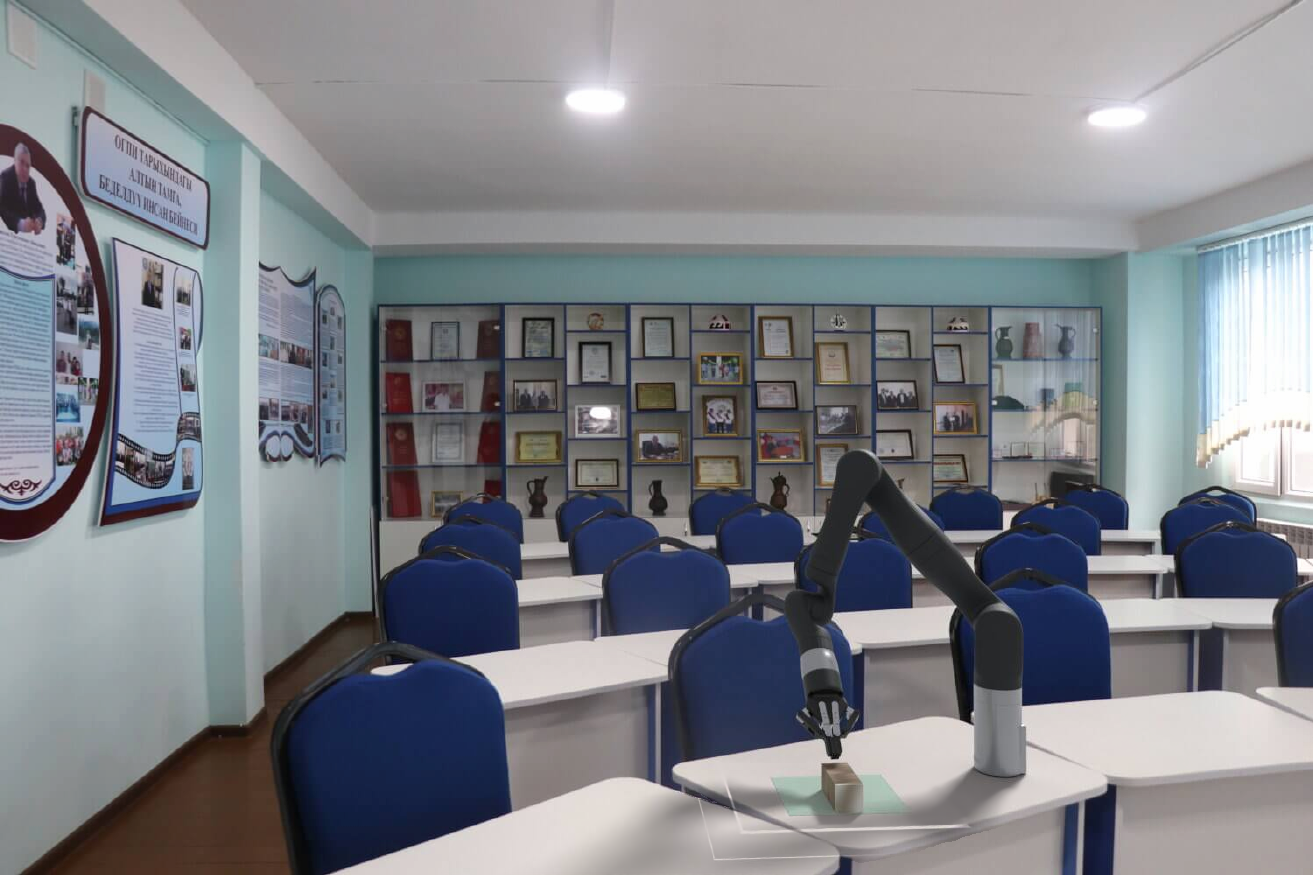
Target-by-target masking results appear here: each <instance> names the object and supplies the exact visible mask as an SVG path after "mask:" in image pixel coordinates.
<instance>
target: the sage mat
mask: <svg viewBox="0 0 1313 875" xmlns="http://www.w3.org/2000/svg"><path fill="white" fill-rule="evenodd" d="M856 775H857V776H858V778H859V779H860V781H861V782H862V783H863V812H856V813H835V811H834V809H833V808H832V806H831V804H830V803H829V801H828V799H827V798H826V796H825V794H824V793H823V791H822V789H821V775H812V776H811V775H810V776H809V775H805V776H803V775H802V776H771V777H770V779H771V781H772V783H773V785H774V787H775V790H776V791H777V794H778V795H779V797H780V799H781V801H782V804H783V805H784V807H785V810H786V812H787V814H788V816H789V817H793V816H795V817H797V816H799V817H800V816H831V815H870V814H874V815H875V814H903V813H904V814H905V813H906V814H907V813H909V814H910V813H912V811H911V810H910V809H909V808H908V806H907V805H906V804H905V803H904V801H903V800H902V799H901V798H900V796H899V795H898V794H897V793H896V792H895V790H894V789H893V788H892V786H891V785H890V784H889V782H887V780H886V779H885V778H884V776H882V774H878V773H877V774H856Z"/></svg>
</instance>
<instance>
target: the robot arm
mask: <svg viewBox="0 0 1313 875" xmlns="http://www.w3.org/2000/svg"><path fill="white" fill-rule="evenodd" d="M834 475H835V477H834V481H833V482H834V483H833V486H832V487H833V488H832V493H831V496H830V500H829V505H828V508H827V511H826V513H825V516H824V519H823V521H822V524H821V527H820V528H819V532H818V534H817V535H816V539H815V542H814V544H813V546H812V550H811V552H810V555H809V558H808V561H807V563H806V566H805V568H804V576H805V578H806V579H807V580H809V581H810V582H811V583H814V584H816V585H817V592H812V591H807V590H805V589H799V588H798V589H792V590H791V591H789V592H788V593H787V594H786V596H785V598H784V602H783V613H784V616H785V619H786V622H787V625H788V626H789V629H790V631H791V633H792V635H793V637H794V639H795V640H796V643H797V647H798V652H799V659H800V672H801V674H800V676H801V679H802V684H803V686H802V687H803V690H804V696H805V703H804V704H805V705H804V707H803V709H799V710H797V712H796V717H795V720H796V722H798V723H799V725H801V727H803V728H804V729H805V731H807V732H808V734H810V735H811V736H812V737H813V738H814V739H815V740H822V741H823V742H824V747H825V753H826V755H827V757H830V760H831V761H832V760H833V761H834V760H839V759H840V757H841V756H842V753H843V746H842V741H841V740H842V739H844V740H845V739H847V737H848V735H849V734H850V732H851V731H852V729H853V728H854V726H855V724H856V723H857V721H858V720H859V717H860V714H861V710H860V709H858V708H855V709H853V708H852V707H850V706H849V702H848V701H847V700H846V698H845V697H844V689H843V685H842V680H841V676H840V675H841V674H840V670H839V665H838V661H837V658H836V656H835V652H834V645H833V641H832V637H831V634H830V633H829V631H828V630H827V629H825V628H824V627H827V625H828V624H830V622H831V621H832V619H833V617H834V615H835V614H834V613H835V602H836V591H837V590H836V589H837V582H838V578H839V575H840V573H841V570H842V567H843V564H844V561H845V558H846V555H847V553H848V550H849V546H850V543H851V538H852V535H853V531H854V527H855V524H856V522H857V518H858V516H859V515H860V514H859V513H860V511H861V509H862V507H863V505H864V503H866V505H867V506H868V507H869V508H870V509H871V510H872V511H873V512H874V513H875V514H876V516H877V517H878V518H879V520H880V521H881V523H882V525H883V526H884V528H885V530H886V531H887V533H888V534H889V536H890V538H891V539H892V541H893V542H894V544H895V545H896V547H897V548H898V549H899V550H900V552H901V553H902V555H903V556H905V558H906V559H907V560H908V562H910V563H911V565H912V566H913V567H914V568H915V569H916V571H918V572H919V574H921V575H922V576H923V578H925V580H927V581H928V582H929V583H930V584H932V586H934V587H935V588H937V589H938V590H939V591H940V592H941V593H942V594H944V595H945V596H946V597H948V598H949V600H950V601H951V602H952V603H953V604H954V605H955V606H956V608H957V609H958V610H959V611H960V613H961V614H962V615H963V616H964V618H965V619H966V621H967V622H968V624H969V625H970V627H971V628H972V630H973V633H974V640H973V642H974V644H973V645H974V647H973V649H974V655H973V656H974V657H973V658H974V659H973V660H974V663H973V664H974V665H973V768H974V769H975V770H976V771H978V772H980V773H982V774H984V775H989V776H994V777H1000V778H1001V777H1002V778H1003V777H1005V778H1006V777H1007V778H1010V777H1016V776H1019V775H1022V774H1023V775H1024V774H1027V727H1026V725H1025V724H1024V723H1023V674H1024V630H1023V625H1022V622H1021V620H1020V618H1019V616H1018V615H1017V613H1016V612H1015V611H1014V610H1013V608H1011V607H1010V606H1009V605H1007V603H1006V602H1004V601H1003V600H1002V599H1001V598H1000V597H999V596H998V595H996V594H995V593H994V592H993V591H992V590H991V589H990V588H989V587H988V586H987V585H986V584H985V583H984V582H983V581H982V580H981V579H980V577H979V576H978V575H977V574H976V573H975V571H974V570H973V568H972V567H971V565H970V564H969V563H968V561H967V559H966V558H965V557H964V555H963V554H962V552H960V550H959V549H958V548H957V547H956V545H955V544H954V542H952V540H951V539H950V538H949V536H947V534H945V532H944V531H943V530H942V529H941V528H940V526H939V525H937V524H936V523H935V522H934V520H932V519H931V517H930V516H929V515H928V514H927V513H926V512H924V510H923V509H921V508H920V507H919V506H918V505H917V504H916V503H915V502H914V501H913V500H912V499H911V498H909V497H908V496H907V495H906V494H905V493H904V491H903V490H902V489H901V488H900V487H899V486H898V485H897V483H896V481H895V480H894V479H893V478H892V476H891V475H890V473H889V472H888V471H887V469H886V468H885V466H884V465H883V463H882V462H881V460H880V459H879V457H878V456H877V455H876V454H875V453H874V452H872V451H871V450H870V449H866V448H854V449H851V450H848V451H846V452H844V453H843V455H841V456H840V457H839V459H838V461H837V463H836V466H835V474H834ZM845 714H846V719H847V721H846V722H845V724H844V725H843V727H842V728H840V722H841V721H842V719H844V718H843V717H844V716H845ZM811 718H812V719H811Z"/></svg>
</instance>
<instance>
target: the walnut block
mask: <svg viewBox="0 0 1313 875" xmlns="http://www.w3.org/2000/svg"><path fill="white" fill-rule="evenodd" d="M820 766H821V774H820V776H821V789H822V791H823V793H824V794H825V796H826V798H827V799H828V801H829V803H830V804H831V806H832V808H833V809H834V811H835V813H856V812H863V783H862V782H861V781H860V779H859V778H858V776H857V775H858V774H856V772H855V771H854V769H853V768H852V766H850V764H849V763H848V762H821V765H820Z"/></svg>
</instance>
